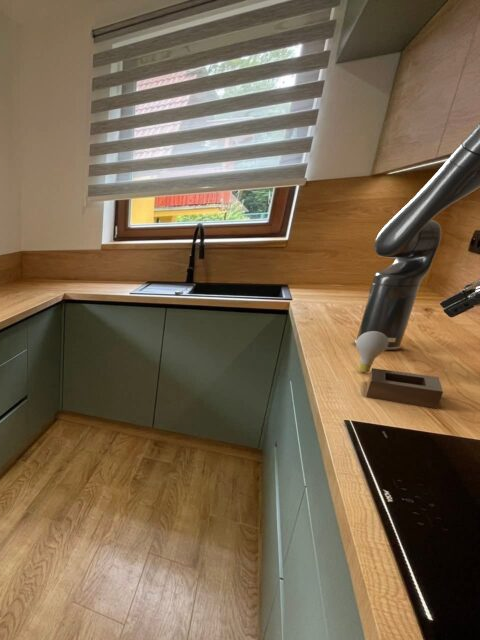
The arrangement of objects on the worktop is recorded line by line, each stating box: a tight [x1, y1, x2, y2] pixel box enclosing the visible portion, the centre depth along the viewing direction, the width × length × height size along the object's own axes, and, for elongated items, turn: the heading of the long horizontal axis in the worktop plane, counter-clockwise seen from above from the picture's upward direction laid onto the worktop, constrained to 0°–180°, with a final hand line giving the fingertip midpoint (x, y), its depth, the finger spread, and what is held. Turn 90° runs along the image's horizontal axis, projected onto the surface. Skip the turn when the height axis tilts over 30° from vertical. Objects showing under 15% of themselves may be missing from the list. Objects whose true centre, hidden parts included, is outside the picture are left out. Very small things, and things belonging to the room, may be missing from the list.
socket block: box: [365, 367, 444, 409], centre depth 88 cm, size 10×10×4 cm
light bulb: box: [355, 331, 389, 374], centre depth 99 cm, size 6×6×10 cm
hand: (444, 310), depth 89 cm, fingers open, 8 cm apart
